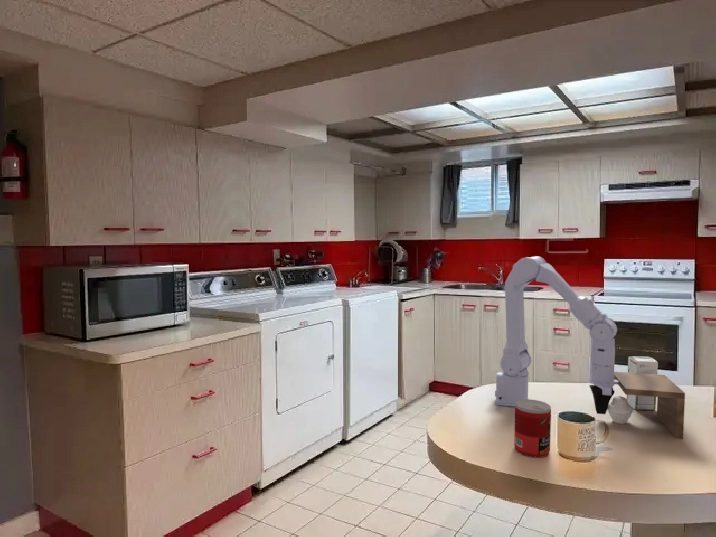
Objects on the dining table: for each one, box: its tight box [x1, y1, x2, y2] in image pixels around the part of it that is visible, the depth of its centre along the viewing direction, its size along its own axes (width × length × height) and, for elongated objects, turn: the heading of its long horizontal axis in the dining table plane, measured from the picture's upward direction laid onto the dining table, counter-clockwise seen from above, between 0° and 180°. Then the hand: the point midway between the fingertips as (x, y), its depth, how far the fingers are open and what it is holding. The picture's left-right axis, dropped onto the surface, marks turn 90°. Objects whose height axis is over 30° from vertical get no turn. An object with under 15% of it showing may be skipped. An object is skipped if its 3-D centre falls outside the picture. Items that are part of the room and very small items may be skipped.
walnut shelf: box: [614, 371, 686, 440], centre depth 130 cm, size 13×16×12 cm
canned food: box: [513, 398, 552, 459], centre depth 114 cm, size 8×8×11 cm
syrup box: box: [626, 355, 659, 411], centre depth 142 cm, size 6×6×14 cm
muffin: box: [607, 395, 634, 425], centre depth 132 cm, size 6×6×7 cm
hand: (600, 413), depth 133 cm, fingers closed, pressing on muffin
